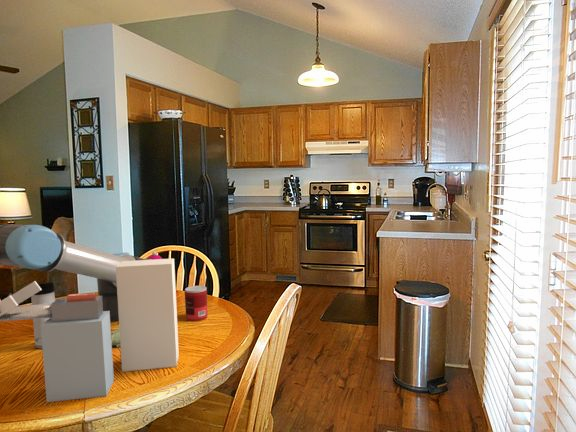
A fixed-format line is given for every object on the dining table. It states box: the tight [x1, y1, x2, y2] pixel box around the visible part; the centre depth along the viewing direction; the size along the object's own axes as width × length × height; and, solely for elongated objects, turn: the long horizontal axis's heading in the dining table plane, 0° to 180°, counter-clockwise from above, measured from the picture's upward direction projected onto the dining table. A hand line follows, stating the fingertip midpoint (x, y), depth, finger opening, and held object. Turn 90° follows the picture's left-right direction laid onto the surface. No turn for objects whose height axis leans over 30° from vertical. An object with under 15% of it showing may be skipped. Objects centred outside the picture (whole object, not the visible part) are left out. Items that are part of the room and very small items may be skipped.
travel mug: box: [30, 281, 56, 350], centre depth 135 cm, size 6×7×20 cm
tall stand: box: [116, 257, 180, 372], centre depth 120 cm, size 8×14×28 cm, turn 100°
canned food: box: [184, 285, 209, 322], centre depth 159 cm, size 8×8×11 cm
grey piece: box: [0, 292, 103, 322], centre depth 103 cm, size 4×22×6 cm, turn 100°
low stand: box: [41, 311, 115, 403], centre depth 105 cm, size 8×13×18 cm, turn 100°
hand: (26, 292), depth 102 cm, fingers open, 13 cm apart
